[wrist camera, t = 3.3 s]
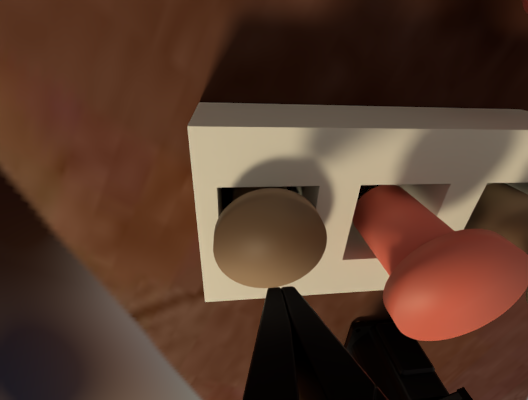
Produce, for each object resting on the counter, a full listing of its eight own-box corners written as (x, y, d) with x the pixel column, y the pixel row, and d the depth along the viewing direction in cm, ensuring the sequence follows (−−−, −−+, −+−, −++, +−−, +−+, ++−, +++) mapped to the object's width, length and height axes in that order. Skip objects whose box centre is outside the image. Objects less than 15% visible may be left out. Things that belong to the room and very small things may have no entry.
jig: (456, 235, 20) (512, 281, 16) (210, 245, 18) (205, 301, 14) (520, 109, 15) (618, 131, 11) (199, 102, 13) (187, 126, 9)
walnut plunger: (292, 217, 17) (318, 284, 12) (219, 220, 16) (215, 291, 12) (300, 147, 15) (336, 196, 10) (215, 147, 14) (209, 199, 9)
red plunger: (408, 244, 15) (491, 335, 10) (329, 247, 14) (379, 346, 10) (438, 168, 13) (562, 241, 8) (346, 169, 12) (422, 248, 7)
